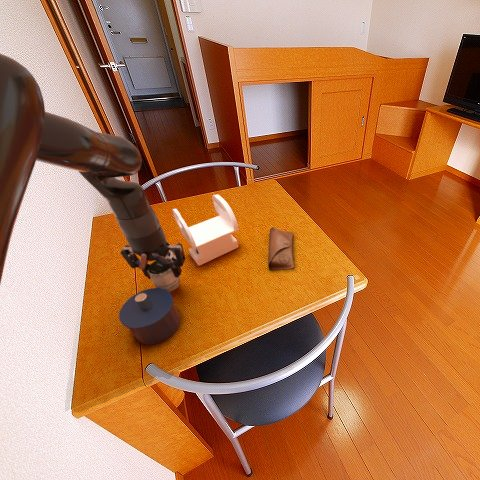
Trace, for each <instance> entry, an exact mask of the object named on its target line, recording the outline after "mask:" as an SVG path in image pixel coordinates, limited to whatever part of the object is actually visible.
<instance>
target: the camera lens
mask: <svg viewBox="0 0 480 480" xmlns="http://www.w3.org/2000/svg"><path fill="white" fill-rule="evenodd" d="M171 261H172V260H171ZM172 262H173V261H172ZM149 264H150V266H149V267H148V274H149V275H150V277H151V281H152V283H153V285H154V287H155V288H162V289H165V290H167V291H169V292H170V293H171V292H172V291H175V290H176V289H177V288H178V287H179V286H180V284H181V278H180V276H179V277H177V278H176V277H175V275H174V273H173V271H172V267H170V266H169V265H168V264H164V263H163V262H162V261H156V260H154V261H152V262H151V263H149Z"/></svg>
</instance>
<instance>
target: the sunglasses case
mask: <svg viewBox="0 0 480 480" xmlns="http://www.w3.org/2000/svg"><path fill="white" fill-rule="evenodd" d="M293 242H294V232H289V231H285V230H282V229H278V228H275V227H274V226H273V227H270V230H269V238H268V254H267V255H268V256H267V264H268V265H267V266H268V268H269V269H270V270H271V271H281V270H291V269H294V268H295V260H294V248H293V246H294V245H293V244H294V243H293Z"/></svg>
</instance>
